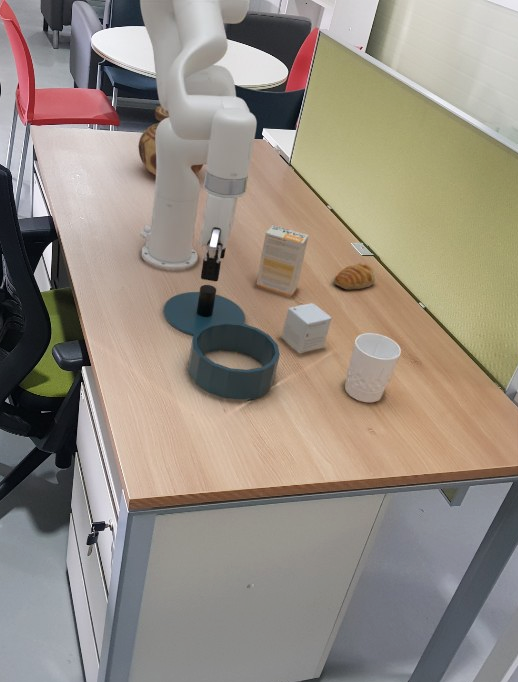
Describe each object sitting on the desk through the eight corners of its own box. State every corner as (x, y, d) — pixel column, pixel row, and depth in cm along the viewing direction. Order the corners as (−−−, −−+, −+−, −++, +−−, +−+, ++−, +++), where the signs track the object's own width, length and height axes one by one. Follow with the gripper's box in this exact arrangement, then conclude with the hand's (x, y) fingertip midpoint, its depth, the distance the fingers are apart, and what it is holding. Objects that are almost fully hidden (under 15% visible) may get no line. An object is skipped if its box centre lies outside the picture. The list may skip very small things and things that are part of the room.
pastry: (348, 295, 162) (353, 280, 160) (325, 281, 166) (329, 266, 164) (376, 285, 168) (380, 270, 165) (353, 272, 172) (357, 257, 169)
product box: (298, 356, 141) (306, 323, 137) (279, 339, 145) (287, 307, 141) (323, 349, 144) (332, 317, 140) (304, 333, 148) (312, 301, 144)
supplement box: (297, 289, 162) (310, 234, 155) (290, 298, 158) (303, 243, 151) (262, 278, 164) (273, 223, 157) (254, 287, 161) (265, 231, 153)
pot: (170, 369, 133) (174, 340, 129) (227, 341, 142) (232, 313, 139) (234, 413, 125) (240, 383, 121) (289, 380, 134) (296, 351, 131)
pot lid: (146, 312, 148) (149, 283, 144) (202, 288, 158) (206, 260, 154) (205, 350, 139) (210, 320, 135) (260, 323, 149) (266, 294, 145)
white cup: (387, 385, 136) (403, 340, 131) (382, 410, 130) (398, 364, 124) (344, 373, 138) (358, 328, 132) (338, 397, 132) (352, 351, 126)
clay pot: (215, 181, 199) (195, 109, 188) (148, 199, 202) (125, 129, 191) (213, 155, 214) (194, 87, 203) (151, 172, 218) (129, 106, 206)
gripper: (211, 162, 139) (199, 245, 149) (197, 196, 125) (186, 285, 135) (250, 169, 139) (236, 251, 148) (241, 203, 124) (227, 293, 134)
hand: (212, 267), depth 141 cm, fingers open, 9 cm apart
